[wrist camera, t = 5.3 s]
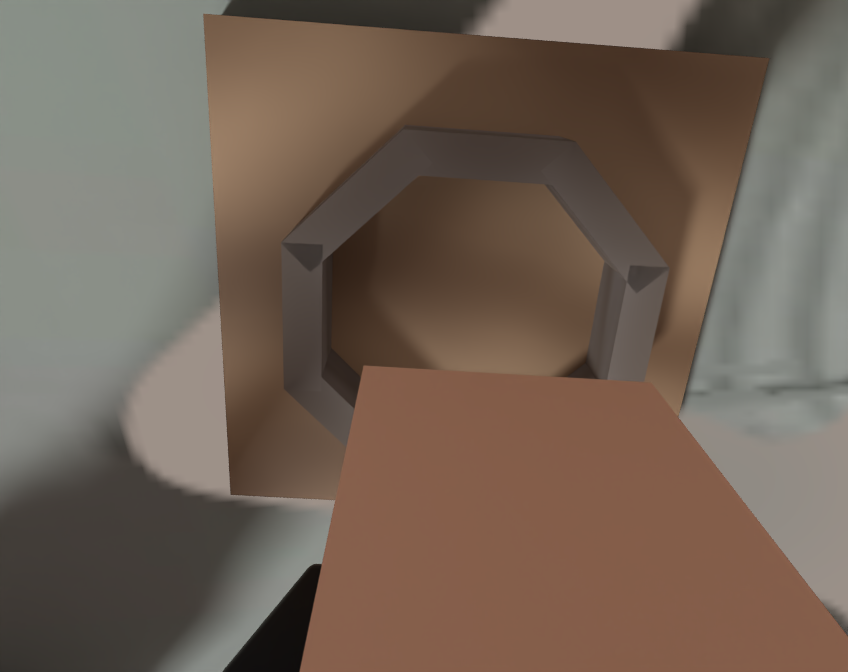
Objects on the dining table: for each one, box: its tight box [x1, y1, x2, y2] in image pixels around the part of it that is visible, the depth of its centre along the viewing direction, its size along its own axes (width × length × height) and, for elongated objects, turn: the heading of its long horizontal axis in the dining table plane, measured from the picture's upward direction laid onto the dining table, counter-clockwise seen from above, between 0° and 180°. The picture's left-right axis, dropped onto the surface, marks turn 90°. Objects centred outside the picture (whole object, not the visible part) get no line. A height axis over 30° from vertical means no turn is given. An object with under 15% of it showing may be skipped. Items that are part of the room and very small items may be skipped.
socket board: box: [203, 14, 769, 500], centre depth 17 cm, size 14×14×3 cm
